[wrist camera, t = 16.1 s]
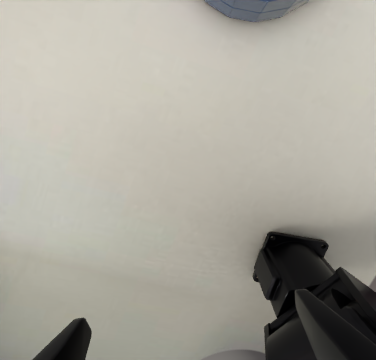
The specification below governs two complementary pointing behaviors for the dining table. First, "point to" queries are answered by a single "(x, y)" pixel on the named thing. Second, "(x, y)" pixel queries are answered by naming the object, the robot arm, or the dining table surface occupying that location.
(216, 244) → the dining table surface
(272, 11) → the bowl
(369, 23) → the dining table surface
